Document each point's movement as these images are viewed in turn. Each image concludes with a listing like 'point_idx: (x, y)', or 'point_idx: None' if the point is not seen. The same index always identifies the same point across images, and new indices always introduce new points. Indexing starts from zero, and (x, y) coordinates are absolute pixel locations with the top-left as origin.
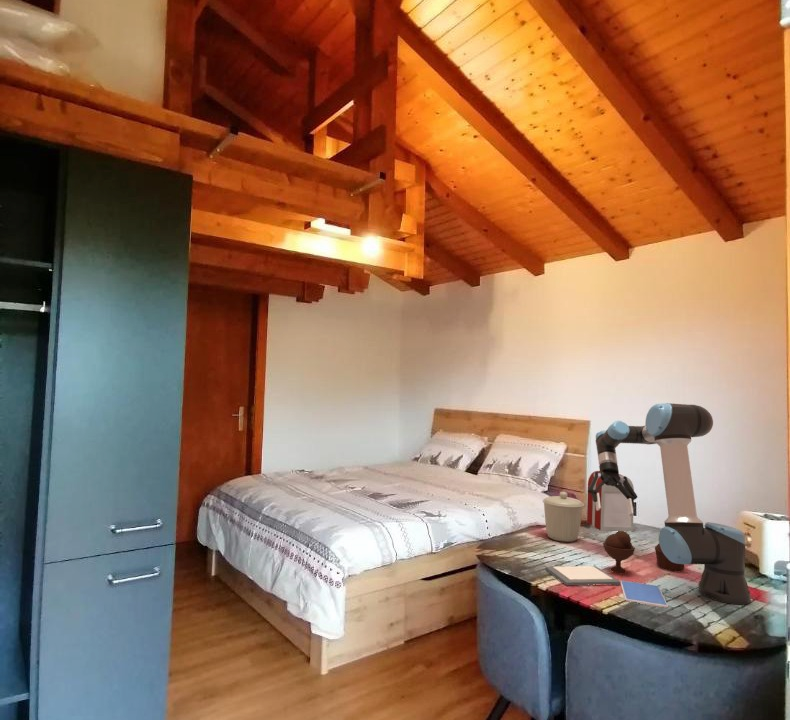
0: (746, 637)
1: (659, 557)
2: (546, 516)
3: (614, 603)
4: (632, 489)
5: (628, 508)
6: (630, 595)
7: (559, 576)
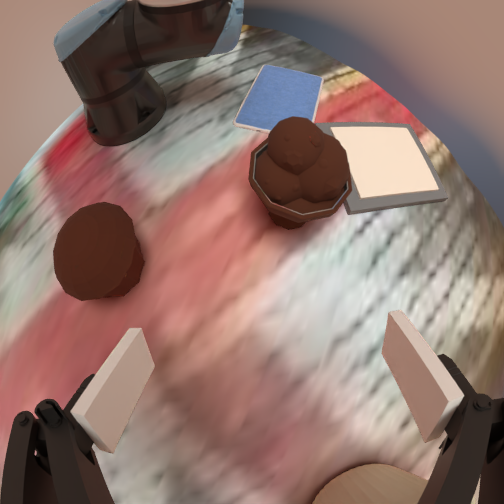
0: None
1: (136, 247)
2: None
3: (341, 76)
4: (7, 476)
5: (134, 390)
6: (311, 85)
7: (422, 148)
